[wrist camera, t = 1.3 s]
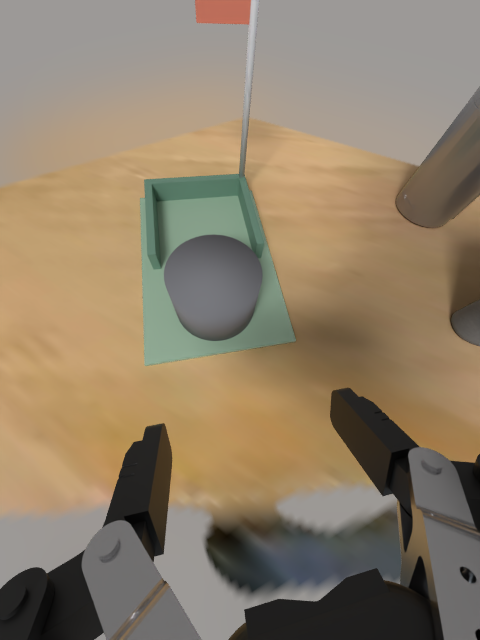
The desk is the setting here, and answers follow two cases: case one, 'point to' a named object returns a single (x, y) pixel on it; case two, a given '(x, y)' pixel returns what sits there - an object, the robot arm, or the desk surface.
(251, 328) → the mini golf green
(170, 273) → the grey domed cylinder
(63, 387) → the desk surface
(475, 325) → the flask
